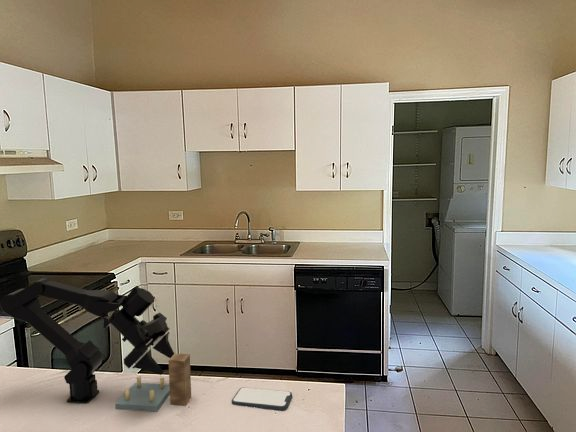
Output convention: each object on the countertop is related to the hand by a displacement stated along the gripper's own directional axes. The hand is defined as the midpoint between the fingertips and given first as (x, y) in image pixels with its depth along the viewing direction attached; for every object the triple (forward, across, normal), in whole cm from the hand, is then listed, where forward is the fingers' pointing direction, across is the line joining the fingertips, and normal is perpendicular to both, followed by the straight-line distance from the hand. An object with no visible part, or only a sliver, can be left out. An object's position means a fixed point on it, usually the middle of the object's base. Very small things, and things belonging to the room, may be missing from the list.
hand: (169, 365), depth 124 cm
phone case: (+26, +3, -10) cm, 28 cm away
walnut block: (+10, 0, +5) cm, 11 cm away
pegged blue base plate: (+2, 0, +12) cm, 13 cm away
